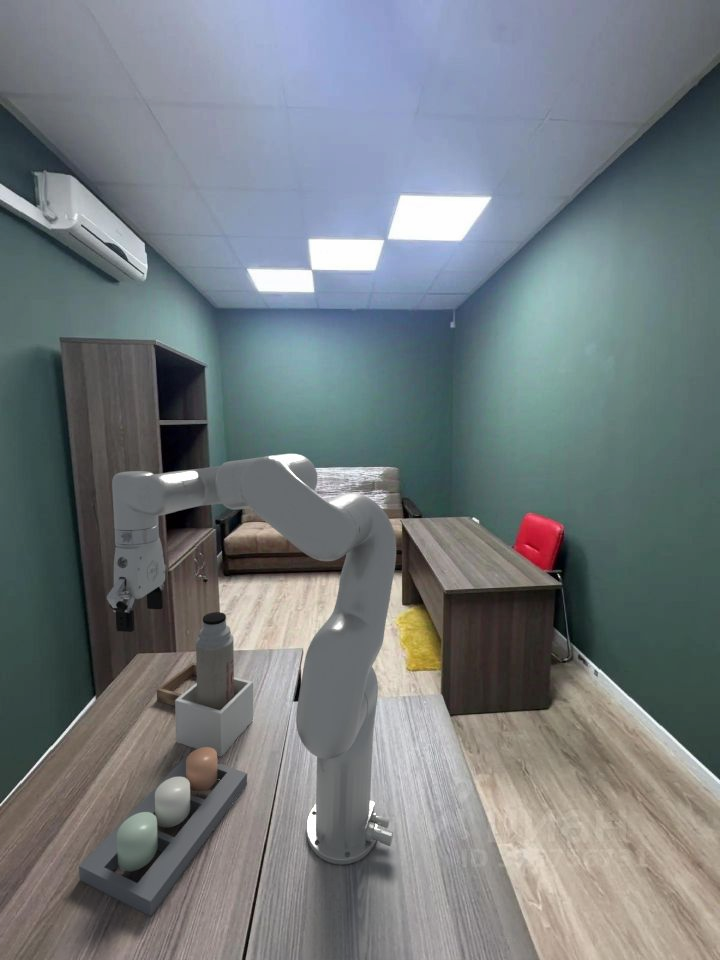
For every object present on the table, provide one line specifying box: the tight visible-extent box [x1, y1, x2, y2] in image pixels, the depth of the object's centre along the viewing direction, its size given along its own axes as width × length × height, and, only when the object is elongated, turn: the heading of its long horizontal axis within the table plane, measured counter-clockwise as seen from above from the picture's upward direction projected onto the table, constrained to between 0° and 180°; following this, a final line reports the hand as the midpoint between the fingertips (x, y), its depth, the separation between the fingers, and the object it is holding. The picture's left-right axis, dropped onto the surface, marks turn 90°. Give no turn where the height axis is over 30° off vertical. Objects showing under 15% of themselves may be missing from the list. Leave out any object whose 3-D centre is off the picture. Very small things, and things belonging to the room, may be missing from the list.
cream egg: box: [155, 777, 191, 828], centre depth 73 cm, size 6×6×4 cm
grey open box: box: [174, 676, 254, 757], centre depth 97 cm, size 12×12×10 cm
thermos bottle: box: [195, 611, 235, 710], centre depth 95 cm, size 8×8×28 cm
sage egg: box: [117, 812, 158, 872], centre depth 66 cm, size 6×6×4 cm
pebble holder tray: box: [78, 753, 248, 917], centre depth 74 cm, size 14×24×2 cm, turn 161°
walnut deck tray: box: [156, 662, 197, 707], centre depth 111 cm, size 13×13×3 cm
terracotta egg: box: [186, 747, 218, 792], centre depth 80 cm, size 6×6×4 cm
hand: (141, 619), depth 83 cm, fingers open, 9 cm apart
